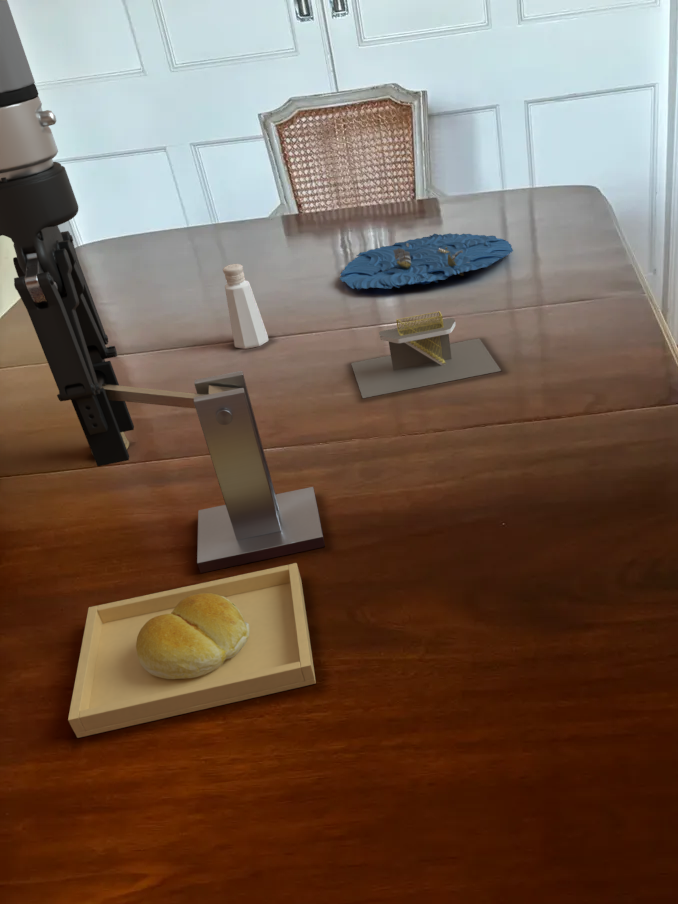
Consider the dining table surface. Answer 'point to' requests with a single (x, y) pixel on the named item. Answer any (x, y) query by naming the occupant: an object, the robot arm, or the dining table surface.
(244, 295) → the pepper shaker
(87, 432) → the robot arm
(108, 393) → the lever
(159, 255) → the dining table surface
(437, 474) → the dining table surface
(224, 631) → the bread roll
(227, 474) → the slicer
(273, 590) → the wooden tray
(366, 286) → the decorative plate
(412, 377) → the platform
